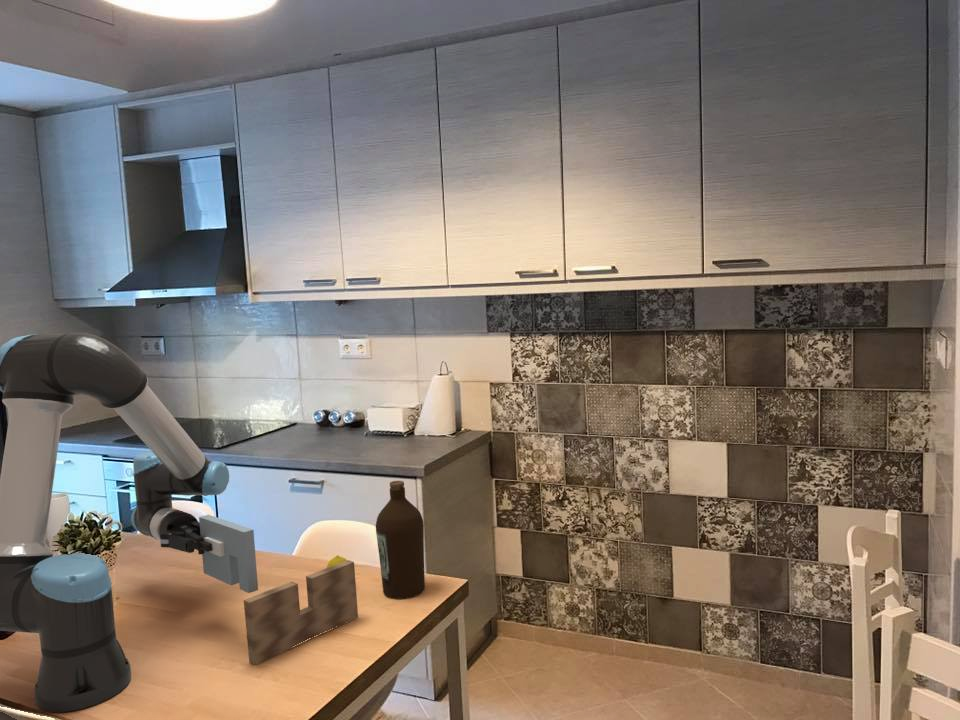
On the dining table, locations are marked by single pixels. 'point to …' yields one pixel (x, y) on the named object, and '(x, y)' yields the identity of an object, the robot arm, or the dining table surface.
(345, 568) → the walnut slotted board
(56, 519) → the drinking glass
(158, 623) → the dining table surface
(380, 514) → the dark brown bottle
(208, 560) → the slate slotted plate
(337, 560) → the lemon
